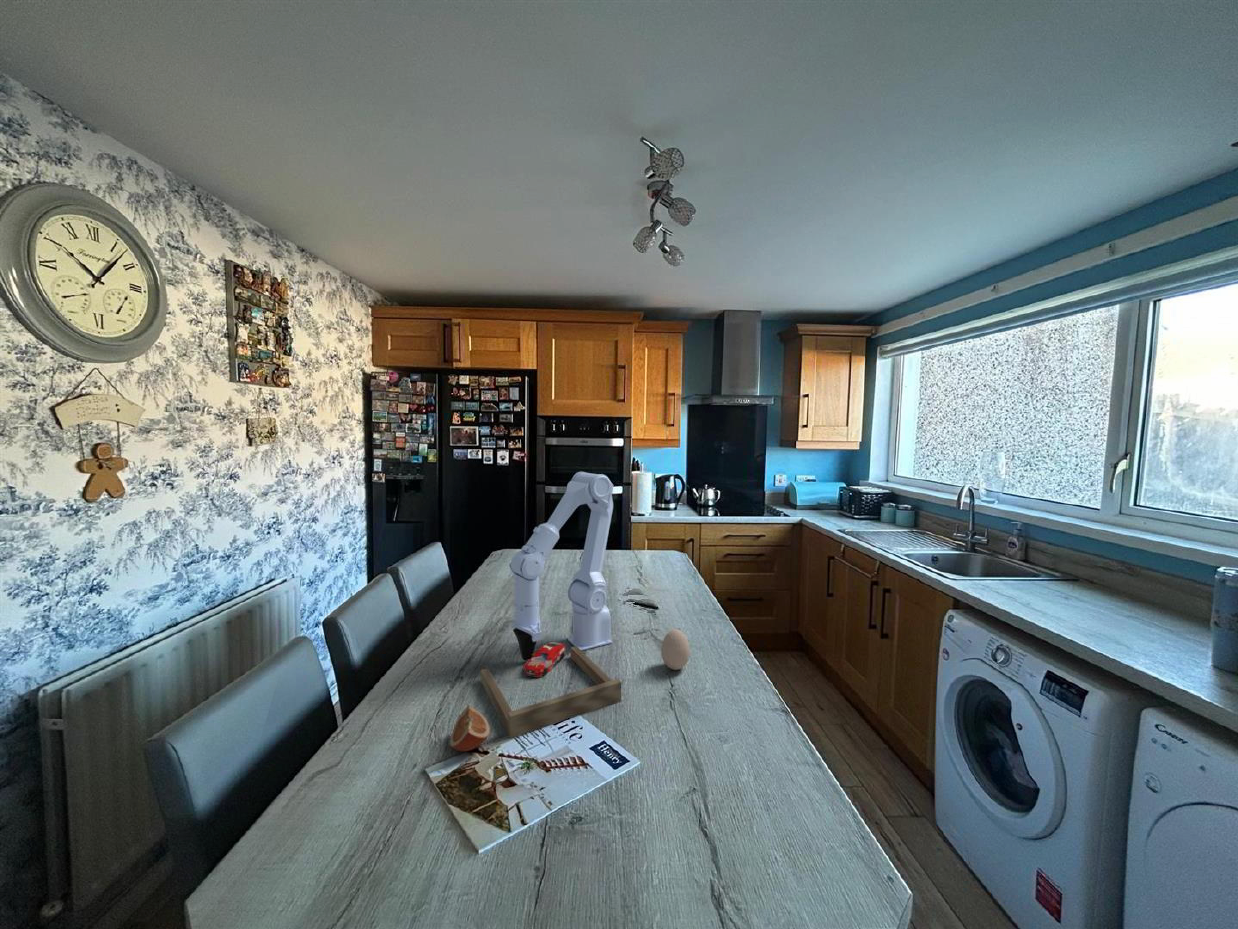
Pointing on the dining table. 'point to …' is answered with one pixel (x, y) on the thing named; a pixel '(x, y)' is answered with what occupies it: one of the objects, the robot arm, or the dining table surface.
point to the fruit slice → (469, 730)
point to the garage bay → (555, 700)
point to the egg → (675, 650)
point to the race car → (545, 659)
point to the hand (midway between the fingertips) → (527, 658)
